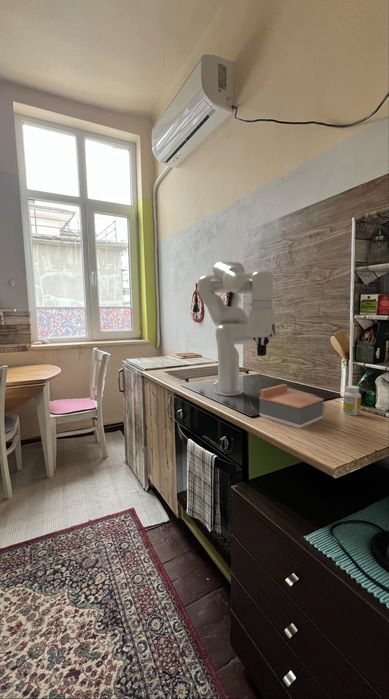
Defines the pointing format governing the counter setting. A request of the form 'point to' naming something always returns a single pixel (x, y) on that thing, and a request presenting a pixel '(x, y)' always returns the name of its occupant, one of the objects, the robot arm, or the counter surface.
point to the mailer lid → (287, 397)
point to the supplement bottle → (352, 401)
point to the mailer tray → (291, 413)
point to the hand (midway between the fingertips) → (261, 355)
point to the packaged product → (301, 392)
